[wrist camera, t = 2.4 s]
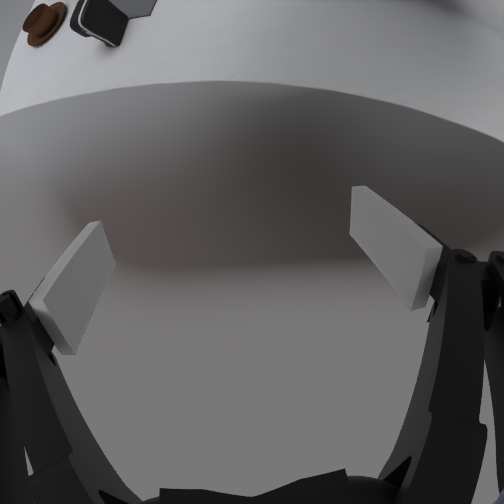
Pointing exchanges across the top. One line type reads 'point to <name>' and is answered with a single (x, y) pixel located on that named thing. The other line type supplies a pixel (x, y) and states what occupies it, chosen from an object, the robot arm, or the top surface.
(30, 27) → the cup and saucer
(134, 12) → the mat
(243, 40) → the top surface
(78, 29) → the battery charger
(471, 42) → the top surface
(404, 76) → the top surface
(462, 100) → the top surface
